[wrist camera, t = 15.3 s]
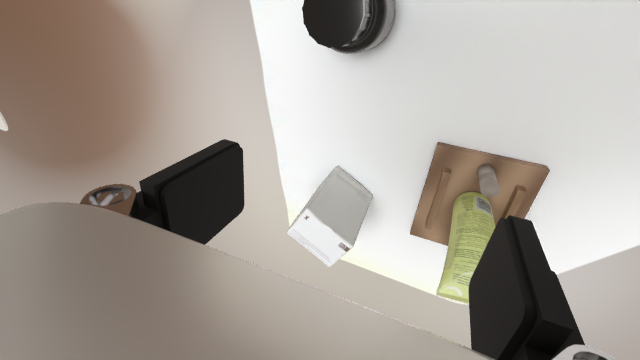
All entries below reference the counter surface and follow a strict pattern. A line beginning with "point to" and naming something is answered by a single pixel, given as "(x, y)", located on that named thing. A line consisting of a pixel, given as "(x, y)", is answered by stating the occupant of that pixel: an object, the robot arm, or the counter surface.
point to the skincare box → (332, 217)
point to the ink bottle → (348, 23)
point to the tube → (465, 244)
